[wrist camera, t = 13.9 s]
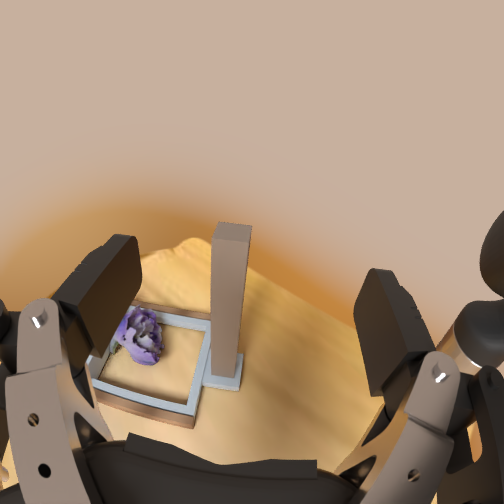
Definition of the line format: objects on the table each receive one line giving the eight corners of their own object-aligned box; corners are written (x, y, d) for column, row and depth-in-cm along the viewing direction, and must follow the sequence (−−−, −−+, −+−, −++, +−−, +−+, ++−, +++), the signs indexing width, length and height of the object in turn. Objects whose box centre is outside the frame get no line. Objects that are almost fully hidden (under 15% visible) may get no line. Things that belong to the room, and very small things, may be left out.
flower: (86, 351, 29) (139, 310, 32) (94, 325, 37) (140, 291, 39) (131, 395, 32) (183, 360, 35) (130, 365, 40) (175, 333, 42)
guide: (33, 371, 29) (28, 365, 28) (83, 294, 46) (80, 287, 45) (193, 429, 29) (192, 424, 28) (217, 322, 46) (217, 315, 45)
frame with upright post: (84, 385, 30) (14, 253, 18) (123, 309, 45) (99, 185, 32) (234, 425, 30) (253, 299, 17) (246, 332, 44) (264, 200, 32)
